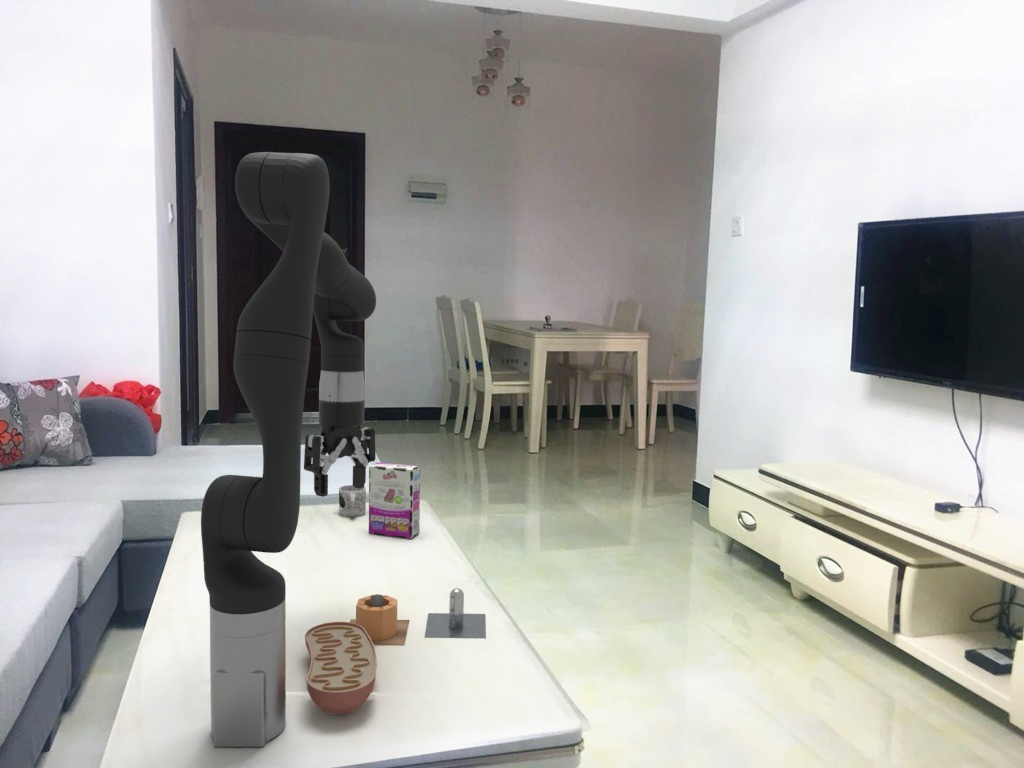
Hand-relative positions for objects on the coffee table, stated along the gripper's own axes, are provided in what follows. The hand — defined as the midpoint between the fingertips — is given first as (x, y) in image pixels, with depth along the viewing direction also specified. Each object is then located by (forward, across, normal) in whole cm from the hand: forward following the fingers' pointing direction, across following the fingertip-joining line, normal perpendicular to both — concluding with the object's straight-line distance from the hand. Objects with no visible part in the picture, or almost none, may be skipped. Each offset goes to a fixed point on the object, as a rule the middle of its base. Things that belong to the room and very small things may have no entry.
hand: (340, 491), depth 138 cm
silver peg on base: (+22, +9, -19) cm, 31 cm away
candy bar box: (+22, +42, +26) cm, 54 cm away
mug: (+22, +47, +45) cm, 69 cm away
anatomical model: (+23, -16, -17) cm, 33 cm away
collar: (+22, -1, -10) cm, 24 cm away
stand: (+23, -1, -10) cm, 25 cm away
